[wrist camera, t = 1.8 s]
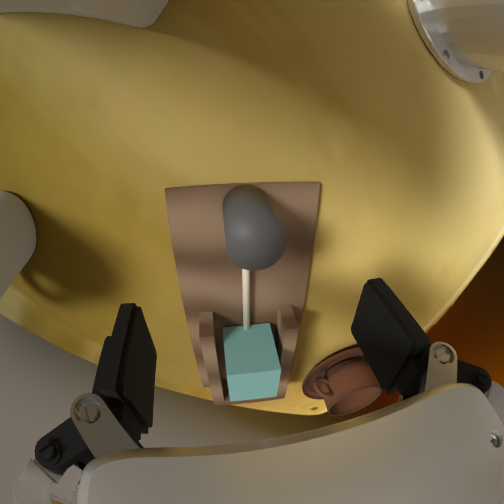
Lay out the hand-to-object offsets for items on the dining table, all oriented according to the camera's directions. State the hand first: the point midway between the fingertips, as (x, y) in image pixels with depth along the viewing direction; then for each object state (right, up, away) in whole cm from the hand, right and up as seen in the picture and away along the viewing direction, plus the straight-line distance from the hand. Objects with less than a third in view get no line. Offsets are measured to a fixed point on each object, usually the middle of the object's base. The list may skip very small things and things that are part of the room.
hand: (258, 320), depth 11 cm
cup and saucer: (+12, -13, +23) cm, 29 cm away
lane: (-1, -3, +15) cm, 15 cm away
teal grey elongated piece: (-1, -1, +12) cm, 12 cm away
